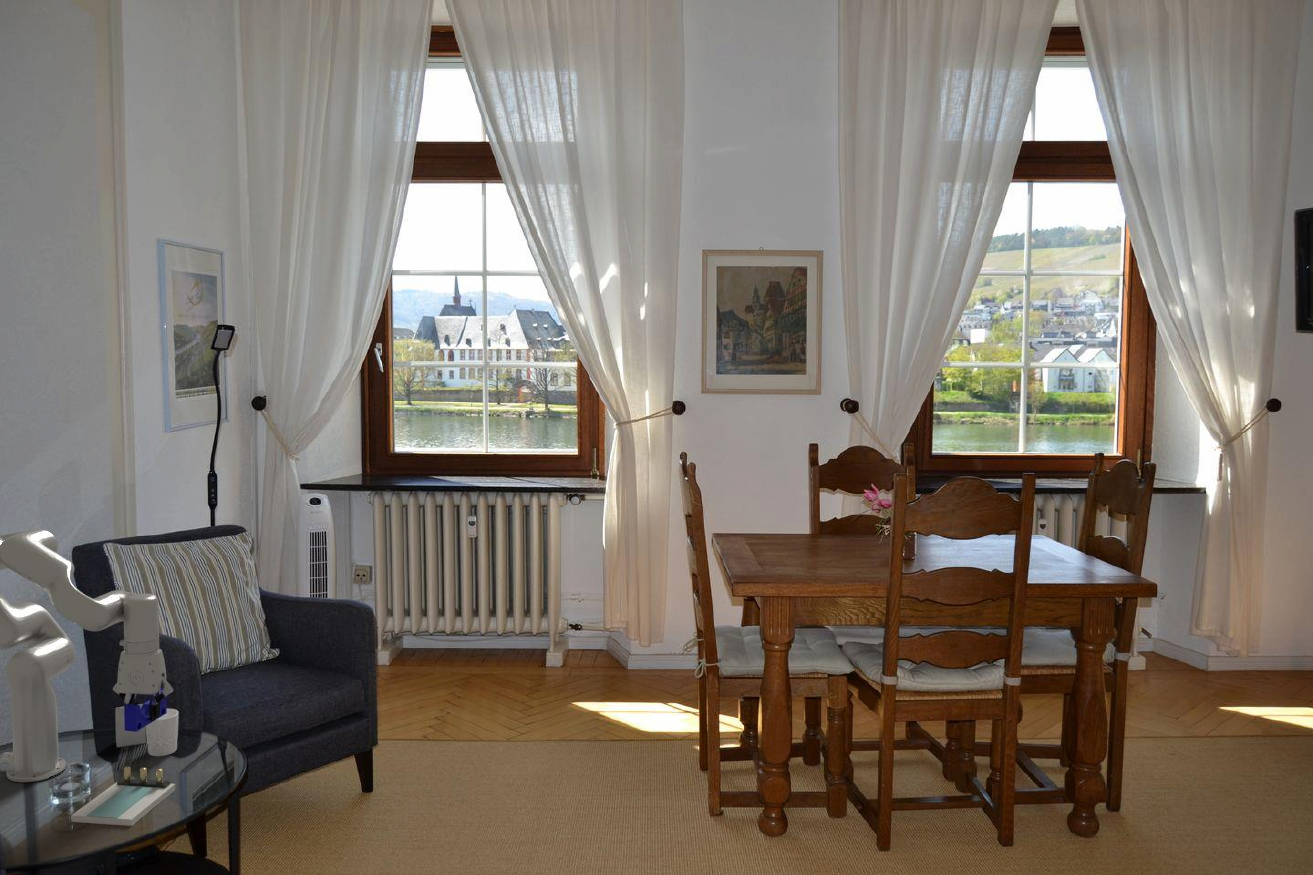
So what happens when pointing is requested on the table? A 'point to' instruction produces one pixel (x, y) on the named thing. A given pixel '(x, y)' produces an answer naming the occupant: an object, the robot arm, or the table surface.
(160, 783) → the coat peg rack
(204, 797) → the table surface
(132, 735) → the grey box
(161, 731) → the white cup
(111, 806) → the board
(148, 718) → the blue curved stepped piece
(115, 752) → the table surface
